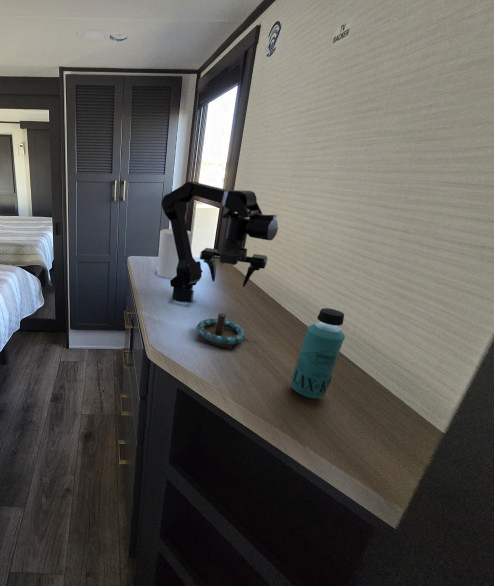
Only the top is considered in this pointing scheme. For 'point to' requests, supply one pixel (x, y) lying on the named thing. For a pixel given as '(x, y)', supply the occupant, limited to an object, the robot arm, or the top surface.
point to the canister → (168, 254)
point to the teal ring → (219, 339)
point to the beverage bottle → (319, 354)
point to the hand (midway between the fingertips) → (228, 283)
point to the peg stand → (219, 332)
